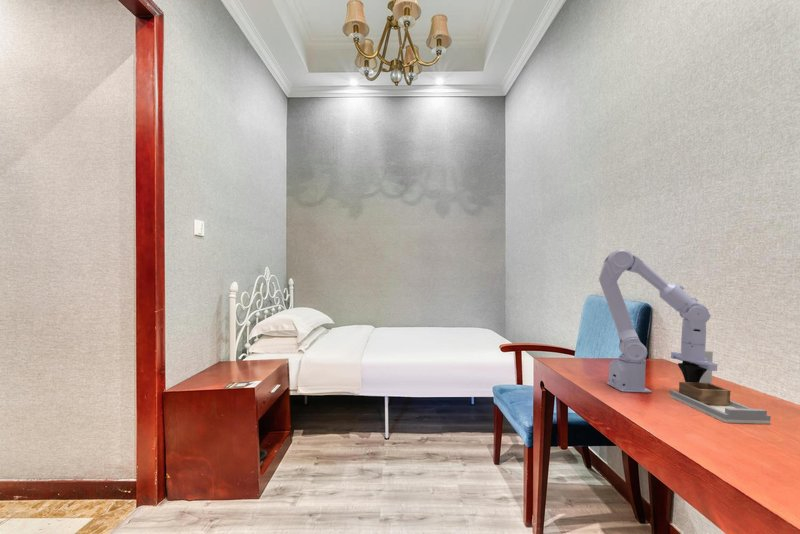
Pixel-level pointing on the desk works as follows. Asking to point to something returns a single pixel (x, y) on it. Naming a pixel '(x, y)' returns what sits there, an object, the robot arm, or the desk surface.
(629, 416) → the desk surface
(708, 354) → the skincare box
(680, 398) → the bay
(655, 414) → the desk surface
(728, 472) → the desk surface
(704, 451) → the desk surface
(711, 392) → the crate
